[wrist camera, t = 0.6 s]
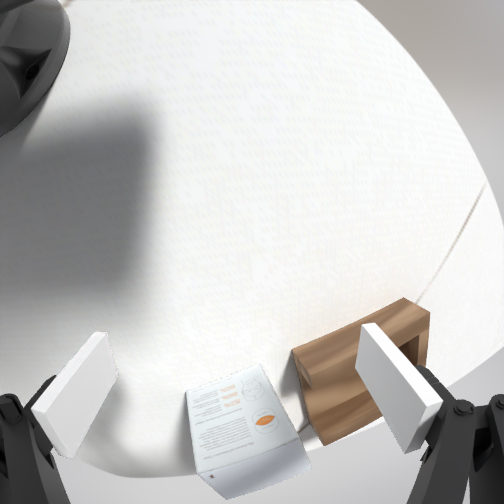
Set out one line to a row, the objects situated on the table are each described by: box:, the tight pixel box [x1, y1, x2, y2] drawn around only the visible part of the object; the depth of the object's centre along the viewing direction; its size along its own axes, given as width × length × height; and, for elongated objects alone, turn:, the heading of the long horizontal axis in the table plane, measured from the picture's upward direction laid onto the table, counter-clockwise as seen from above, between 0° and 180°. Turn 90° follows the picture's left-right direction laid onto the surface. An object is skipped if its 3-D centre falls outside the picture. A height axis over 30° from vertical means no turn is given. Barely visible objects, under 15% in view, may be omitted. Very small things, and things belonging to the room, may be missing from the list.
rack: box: [292, 298, 430, 446], centre depth 28 cm, size 12×14×4 cm
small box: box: [186, 363, 312, 500], centre depth 22 cm, size 8×6×10 cm
